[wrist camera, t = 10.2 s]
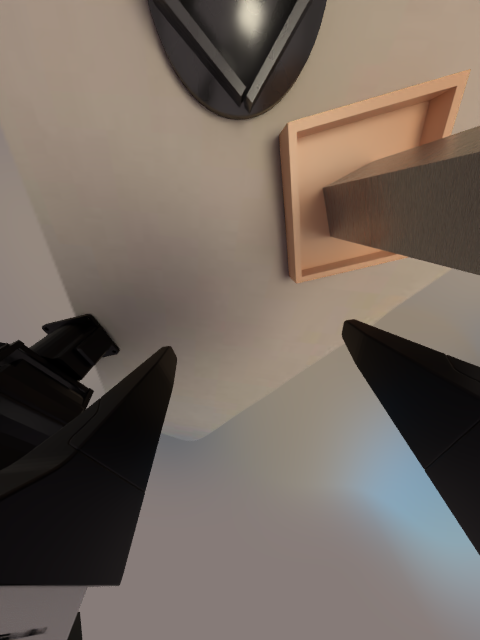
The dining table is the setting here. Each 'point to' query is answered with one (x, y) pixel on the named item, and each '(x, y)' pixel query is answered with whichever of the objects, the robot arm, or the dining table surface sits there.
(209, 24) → the socket cup
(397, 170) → the strut
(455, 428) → the robot arm
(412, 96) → the tray
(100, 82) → the dining table surface
